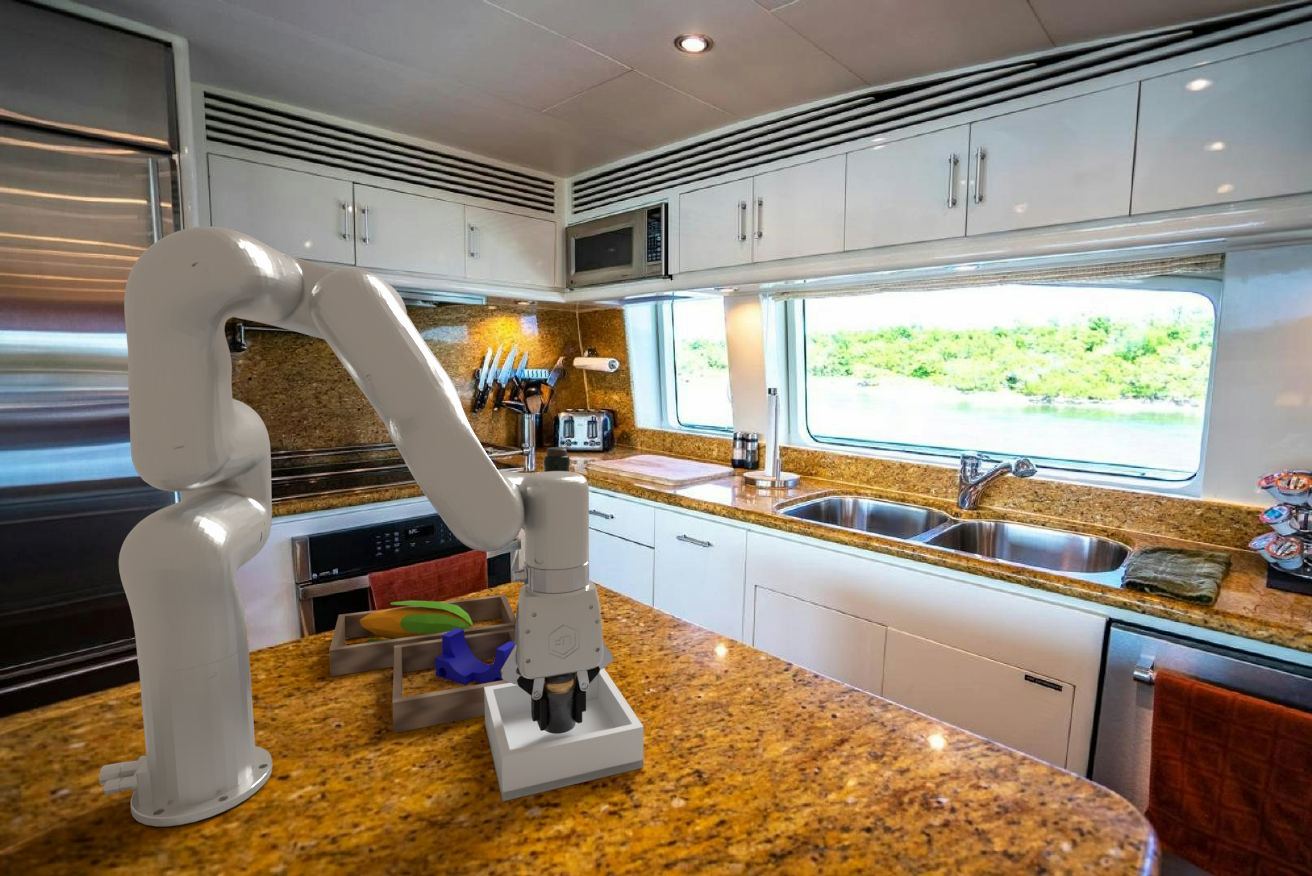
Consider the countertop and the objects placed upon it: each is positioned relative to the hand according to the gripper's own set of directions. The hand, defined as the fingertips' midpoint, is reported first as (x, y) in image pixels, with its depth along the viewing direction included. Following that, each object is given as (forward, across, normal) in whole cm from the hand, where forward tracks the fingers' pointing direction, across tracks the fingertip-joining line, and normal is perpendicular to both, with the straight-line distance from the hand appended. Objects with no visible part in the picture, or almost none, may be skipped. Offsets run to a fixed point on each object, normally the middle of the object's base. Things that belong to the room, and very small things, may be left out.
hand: (558, 719), depth 77 cm
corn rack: (+3, -14, +37) cm, 40 cm away
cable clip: (+4, -8, +21) cm, 23 cm away
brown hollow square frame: (+3, -10, +19) cm, 22 cm away
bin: (+3, 0, 0) cm, 3 cm away
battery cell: (+1, 0, 0) cm, 1 cm away
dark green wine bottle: (+3, +7, +31) cm, 32 cm away
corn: (+4, -16, +37) cm, 40 cm away
